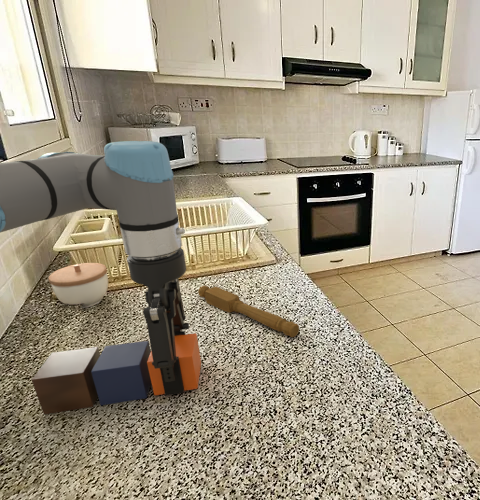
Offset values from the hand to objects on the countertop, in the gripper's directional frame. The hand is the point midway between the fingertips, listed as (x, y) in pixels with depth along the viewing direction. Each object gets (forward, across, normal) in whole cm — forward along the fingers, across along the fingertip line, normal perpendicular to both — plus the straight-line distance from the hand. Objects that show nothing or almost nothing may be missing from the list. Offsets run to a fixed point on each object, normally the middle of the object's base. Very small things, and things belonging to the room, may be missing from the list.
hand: (178, 377), depth 63 cm
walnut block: (+1, 0, +15) cm, 15 cm away
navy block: (+1, 0, +8) cm, 8 cm away
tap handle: (+1, +19, -11) cm, 22 cm away
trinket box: (+1, +33, +24) cm, 41 cm away
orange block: (0, 0, 0) cm, 0 cm away
